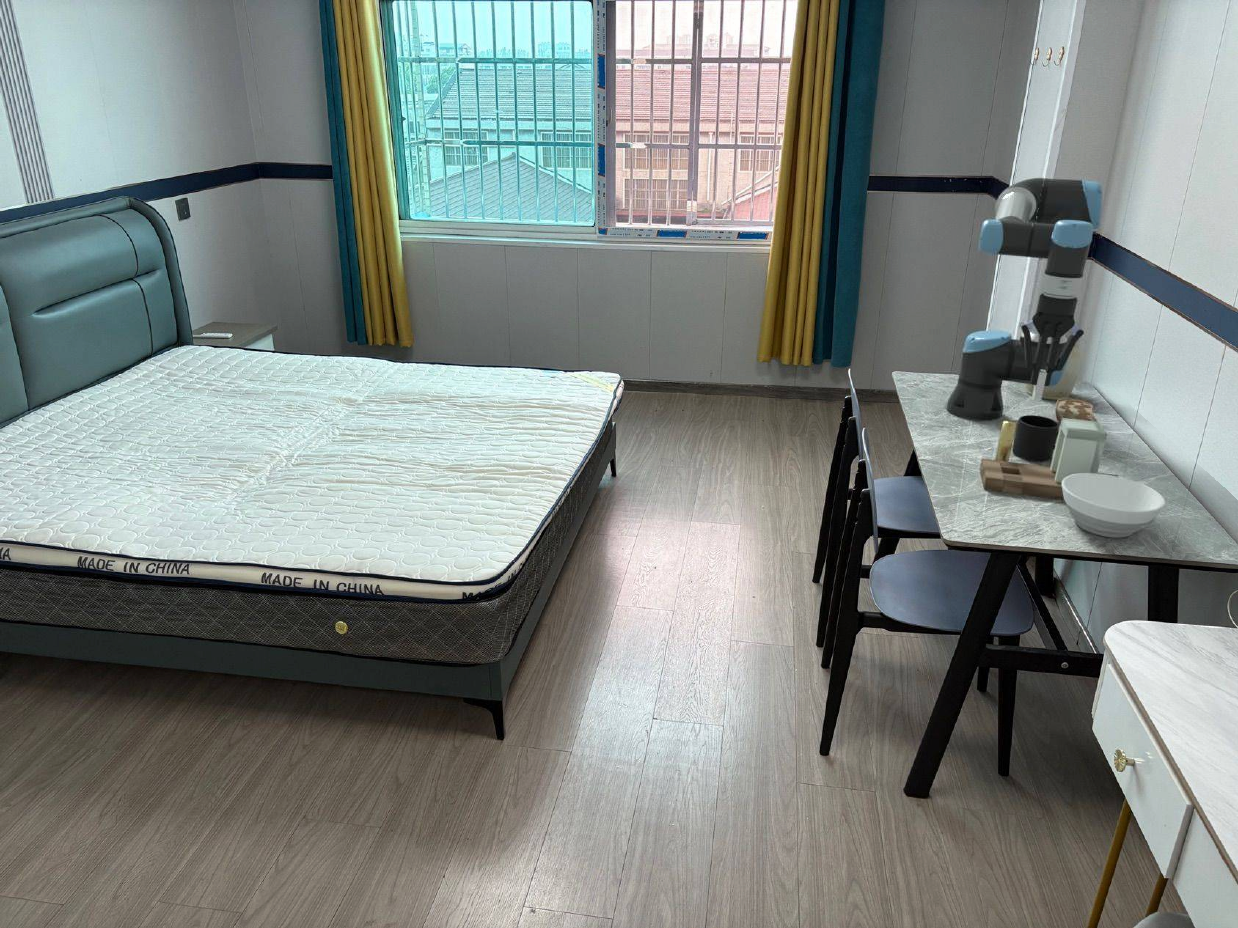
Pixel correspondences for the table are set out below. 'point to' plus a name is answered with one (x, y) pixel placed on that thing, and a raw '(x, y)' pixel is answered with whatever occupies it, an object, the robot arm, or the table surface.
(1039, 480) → the wooden slotted block
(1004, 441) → the pin
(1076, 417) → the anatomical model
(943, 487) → the table surface
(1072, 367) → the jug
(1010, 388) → the table surface
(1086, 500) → the bowl
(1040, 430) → the mug
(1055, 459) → the housing
